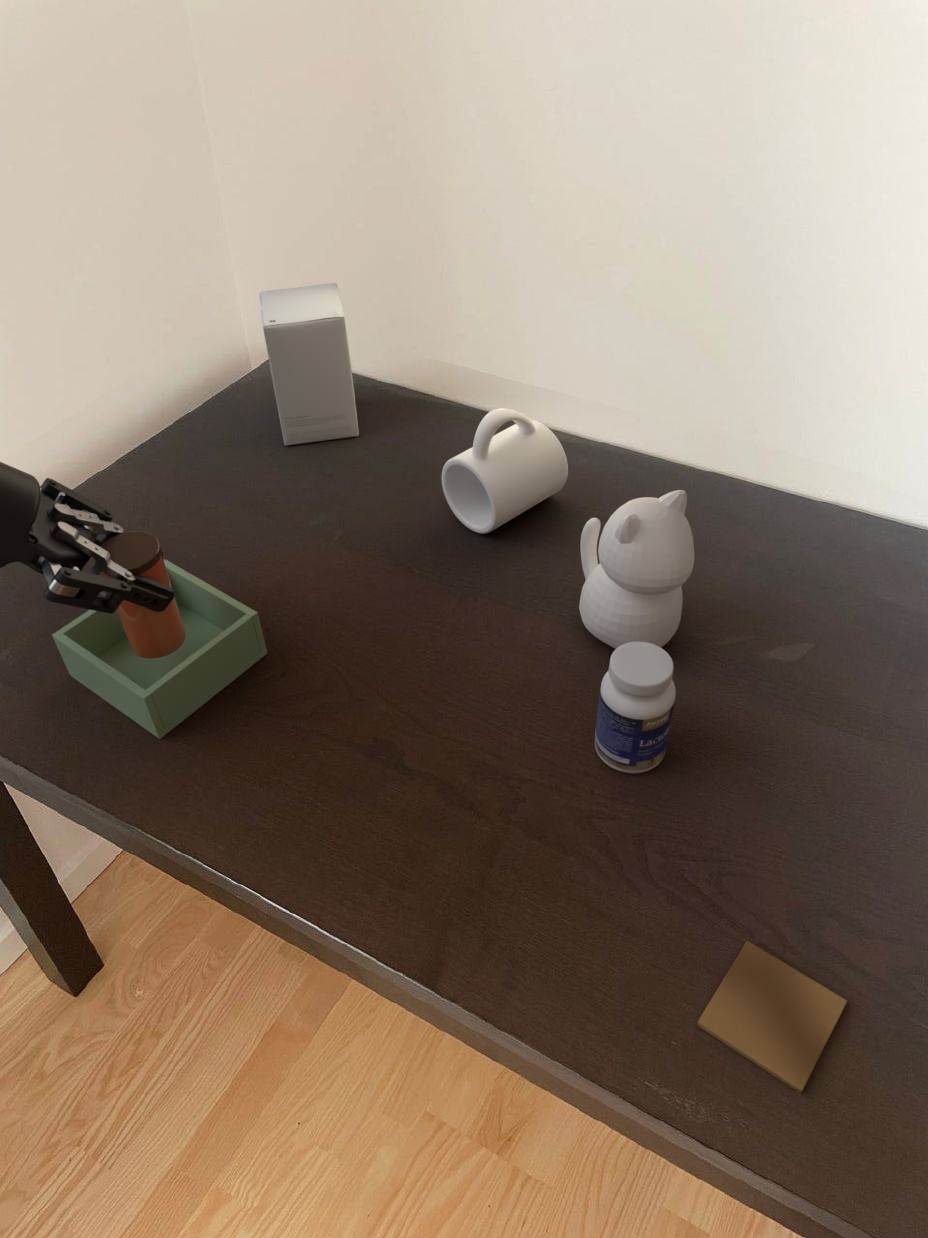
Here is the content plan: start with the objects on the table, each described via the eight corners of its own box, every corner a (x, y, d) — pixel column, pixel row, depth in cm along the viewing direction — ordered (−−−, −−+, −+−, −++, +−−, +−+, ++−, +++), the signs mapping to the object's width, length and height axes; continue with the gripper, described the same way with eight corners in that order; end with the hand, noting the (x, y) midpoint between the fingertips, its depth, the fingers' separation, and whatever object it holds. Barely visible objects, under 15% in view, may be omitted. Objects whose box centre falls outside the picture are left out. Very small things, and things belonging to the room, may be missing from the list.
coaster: (800, 1094, 59) (802, 1091, 58) (696, 1025, 62) (697, 1022, 62) (845, 1004, 63) (847, 1000, 62) (745, 943, 66) (747, 940, 66)
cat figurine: (631, 686, 83) (648, 551, 73) (540, 607, 91) (543, 475, 80) (706, 641, 87) (732, 506, 77) (612, 569, 94) (624, 438, 84)
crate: (159, 739, 81) (143, 698, 77) (70, 675, 86) (51, 634, 83) (267, 653, 88) (257, 612, 84) (178, 599, 93) (165, 558, 90)
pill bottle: (646, 787, 76) (660, 702, 69) (581, 757, 78) (588, 671, 71) (677, 738, 79) (693, 652, 72) (614, 711, 81) (623, 625, 74)
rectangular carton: (361, 437, 113) (346, 316, 103) (284, 447, 112) (260, 326, 102) (353, 397, 119) (338, 280, 109) (280, 407, 118) (257, 289, 108)
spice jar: (154, 668, 82) (122, 578, 75) (117, 643, 84) (82, 554, 78) (199, 634, 85) (172, 545, 78) (162, 612, 87) (133, 523, 80)
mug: (567, 504, 102) (572, 404, 94) (496, 548, 97) (495, 446, 89) (512, 472, 107) (513, 374, 99) (442, 512, 102) (436, 412, 94)
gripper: (-17, 514, 64) (204, 600, 75) (-25, 410, 73) (172, 500, 85) (-71, 597, 66) (152, 668, 77) (-71, 485, 76) (127, 563, 87)
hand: (162, 579), depth 81 cm, fingers closed on spice jar, 5 cm apart
